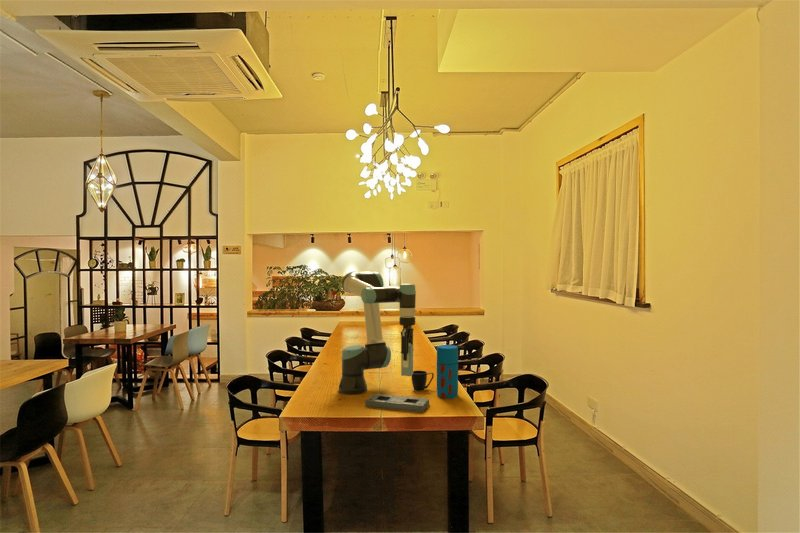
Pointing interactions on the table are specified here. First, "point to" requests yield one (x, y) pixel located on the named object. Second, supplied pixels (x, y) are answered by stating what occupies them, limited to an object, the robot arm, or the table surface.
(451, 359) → the thermos
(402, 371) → the plug
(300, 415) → the table surface
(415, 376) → the mug
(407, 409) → the panel
